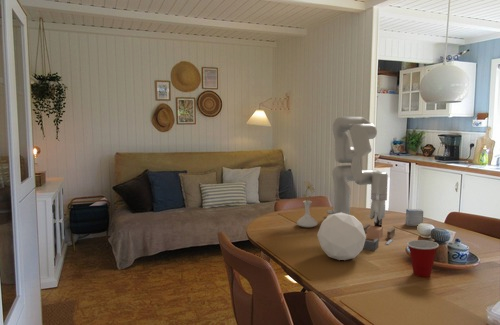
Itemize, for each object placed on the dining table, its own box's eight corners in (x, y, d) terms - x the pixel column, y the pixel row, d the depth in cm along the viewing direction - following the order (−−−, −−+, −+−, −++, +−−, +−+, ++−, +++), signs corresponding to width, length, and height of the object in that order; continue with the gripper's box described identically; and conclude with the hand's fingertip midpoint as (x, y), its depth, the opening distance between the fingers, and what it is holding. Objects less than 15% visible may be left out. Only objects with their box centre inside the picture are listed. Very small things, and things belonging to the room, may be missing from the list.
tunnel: (361, 234, 189) (362, 227, 189) (367, 230, 196) (367, 223, 196) (390, 238, 181) (390, 231, 181) (394, 234, 188) (394, 228, 187)
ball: (327, 272, 158) (303, 231, 164) (364, 250, 164) (339, 211, 170) (343, 266, 141) (315, 219, 147) (383, 241, 147) (355, 198, 153)
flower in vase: (319, 229, 198) (319, 182, 196) (297, 229, 199) (298, 182, 196) (315, 222, 211) (316, 179, 209) (295, 222, 212) (295, 179, 209)
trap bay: (347, 246, 171) (348, 237, 171) (352, 242, 176) (352, 234, 175) (374, 251, 164) (374, 242, 164) (378, 247, 169) (378, 238, 169)
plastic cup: (410, 266, 147) (411, 236, 146) (440, 273, 140) (442, 242, 139) (401, 275, 139) (402, 243, 137) (433, 282, 132) (434, 249, 130)
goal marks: (352, 238, 183) (352, 237, 183) (357, 234, 189) (357, 233, 189) (388, 244, 173) (388, 244, 173) (392, 240, 179) (392, 239, 179)
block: (366, 238, 183) (366, 228, 182) (370, 235, 188) (370, 225, 187) (378, 240, 179) (379, 230, 179) (382, 237, 184) (382, 227, 184)
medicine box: (420, 224, 208) (420, 208, 207) (423, 226, 203) (423, 210, 202) (405, 223, 208) (406, 208, 207) (408, 226, 204) (408, 210, 203)
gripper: (375, 193, 194) (374, 227, 196) (366, 198, 182) (365, 234, 184) (390, 195, 190) (389, 230, 192) (382, 200, 178) (381, 237, 179)
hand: (377, 232), depth 188 cm, fingers closed
